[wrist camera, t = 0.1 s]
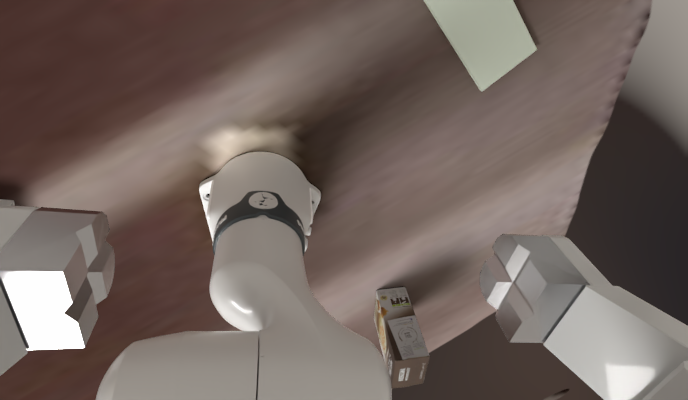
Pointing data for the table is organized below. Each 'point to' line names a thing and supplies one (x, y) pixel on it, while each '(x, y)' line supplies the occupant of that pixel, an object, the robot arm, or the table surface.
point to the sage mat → (484, 36)
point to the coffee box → (400, 338)
